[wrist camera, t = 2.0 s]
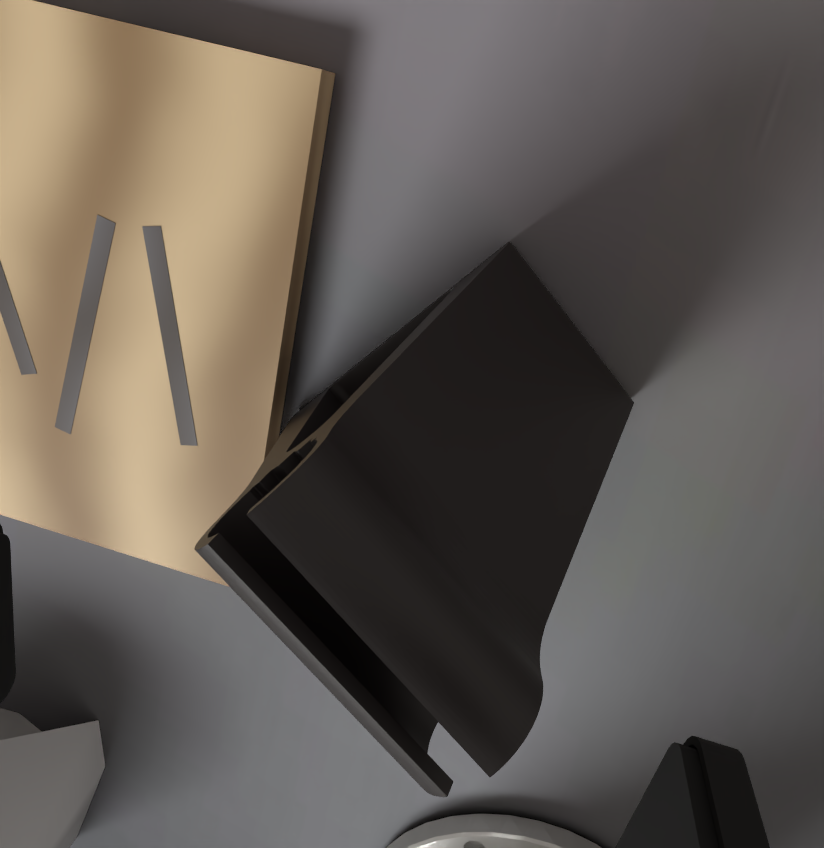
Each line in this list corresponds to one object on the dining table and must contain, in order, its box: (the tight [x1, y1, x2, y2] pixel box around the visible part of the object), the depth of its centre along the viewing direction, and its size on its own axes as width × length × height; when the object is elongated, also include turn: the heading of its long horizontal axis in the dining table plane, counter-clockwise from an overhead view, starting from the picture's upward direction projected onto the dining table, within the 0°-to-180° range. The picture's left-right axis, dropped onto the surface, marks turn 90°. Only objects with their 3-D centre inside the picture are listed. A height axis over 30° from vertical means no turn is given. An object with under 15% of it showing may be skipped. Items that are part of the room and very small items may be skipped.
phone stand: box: [194, 242, 634, 797], centre depth 17 cm, size 9×6×12 cm, turn 131°
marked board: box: [0, 0, 335, 587], centre depth 23 cm, size 13×17×1 cm
